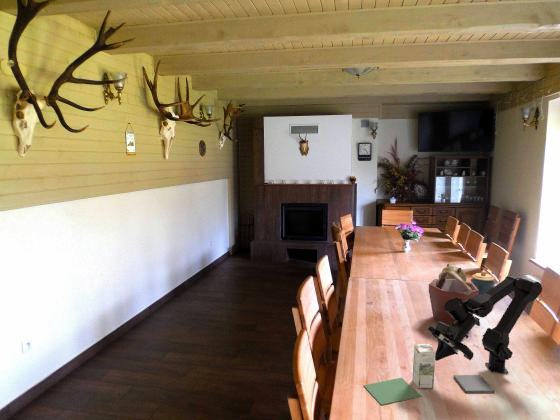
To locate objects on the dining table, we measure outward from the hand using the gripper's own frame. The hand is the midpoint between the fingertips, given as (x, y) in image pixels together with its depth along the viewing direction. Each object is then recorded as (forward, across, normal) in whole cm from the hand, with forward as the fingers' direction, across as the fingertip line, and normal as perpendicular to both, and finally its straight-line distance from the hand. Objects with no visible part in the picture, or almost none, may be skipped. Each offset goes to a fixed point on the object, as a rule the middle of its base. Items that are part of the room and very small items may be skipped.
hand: (435, 359), depth 145 cm
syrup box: (+10, 0, +3) cm, 10 cm away
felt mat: (+19, 0, -6) cm, 20 cm away
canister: (-51, -60, +63) cm, 101 cm away
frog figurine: (-56, -94, +68) cm, 130 cm away
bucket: (-25, -43, +37) cm, 62 cm away
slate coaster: (-3, +6, +15) cm, 16 cm away
